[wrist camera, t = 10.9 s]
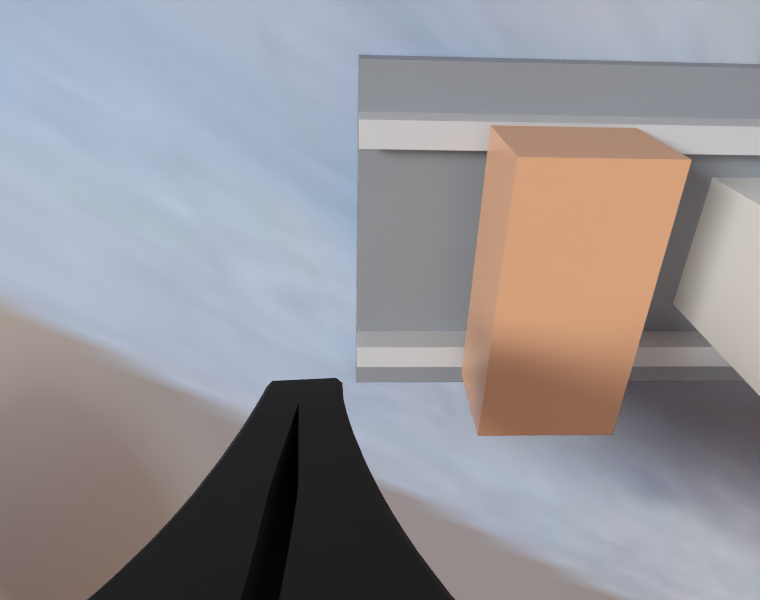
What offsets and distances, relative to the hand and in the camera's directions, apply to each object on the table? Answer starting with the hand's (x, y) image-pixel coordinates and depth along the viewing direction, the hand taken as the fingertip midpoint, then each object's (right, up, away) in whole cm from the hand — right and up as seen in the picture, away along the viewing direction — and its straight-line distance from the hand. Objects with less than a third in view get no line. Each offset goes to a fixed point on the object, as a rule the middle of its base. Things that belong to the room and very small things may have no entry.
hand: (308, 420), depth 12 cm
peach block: (+6, +3, +6) cm, 10 cm away
